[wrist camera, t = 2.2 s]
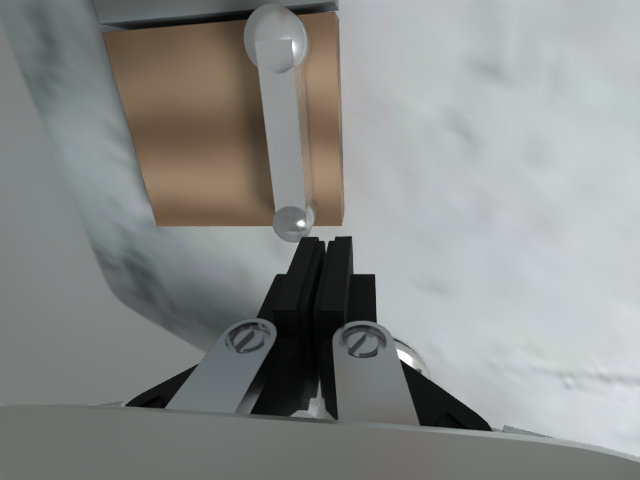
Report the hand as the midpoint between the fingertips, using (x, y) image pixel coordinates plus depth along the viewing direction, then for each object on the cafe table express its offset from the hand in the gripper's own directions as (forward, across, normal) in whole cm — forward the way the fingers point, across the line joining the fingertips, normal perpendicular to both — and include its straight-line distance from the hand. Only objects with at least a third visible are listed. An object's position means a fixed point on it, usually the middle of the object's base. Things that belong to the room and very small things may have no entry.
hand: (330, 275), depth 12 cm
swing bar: (+13, +4, -3) cm, 14 cm away
